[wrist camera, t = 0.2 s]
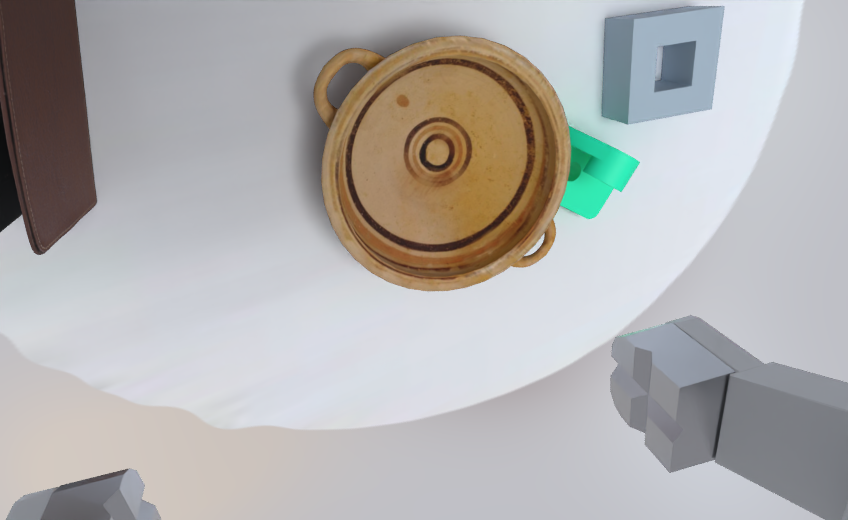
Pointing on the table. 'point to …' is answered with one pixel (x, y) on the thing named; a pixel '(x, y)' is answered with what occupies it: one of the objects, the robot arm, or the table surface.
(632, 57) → the dock
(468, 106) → the ceramic bowl
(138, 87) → the table surface
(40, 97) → the letter holder
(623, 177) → the camera mount
